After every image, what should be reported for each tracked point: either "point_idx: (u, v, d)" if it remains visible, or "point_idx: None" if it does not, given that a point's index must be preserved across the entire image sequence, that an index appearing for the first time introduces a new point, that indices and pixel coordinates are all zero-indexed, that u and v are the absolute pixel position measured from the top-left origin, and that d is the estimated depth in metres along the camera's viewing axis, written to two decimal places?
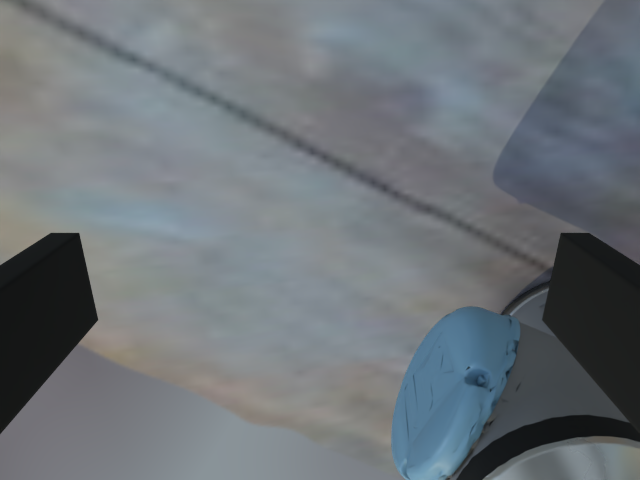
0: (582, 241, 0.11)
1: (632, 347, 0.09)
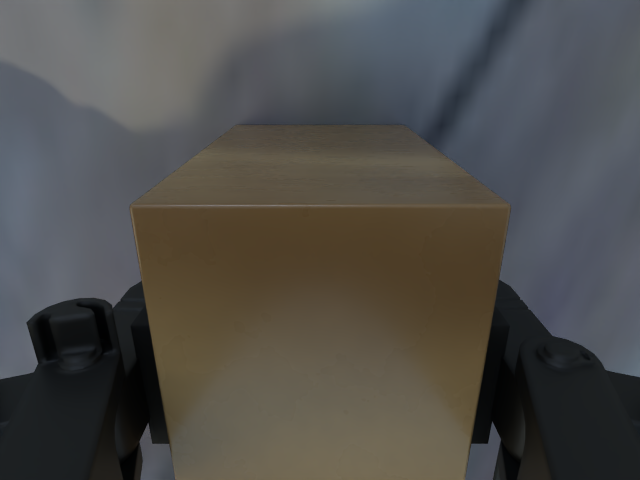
0: None
1: None
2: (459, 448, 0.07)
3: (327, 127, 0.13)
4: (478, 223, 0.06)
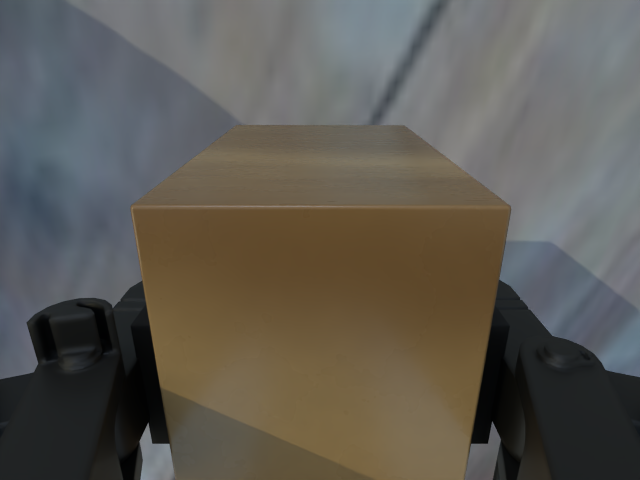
0: None
1: None
2: (459, 448, 0.07)
3: (327, 127, 0.13)
4: (479, 225, 0.06)
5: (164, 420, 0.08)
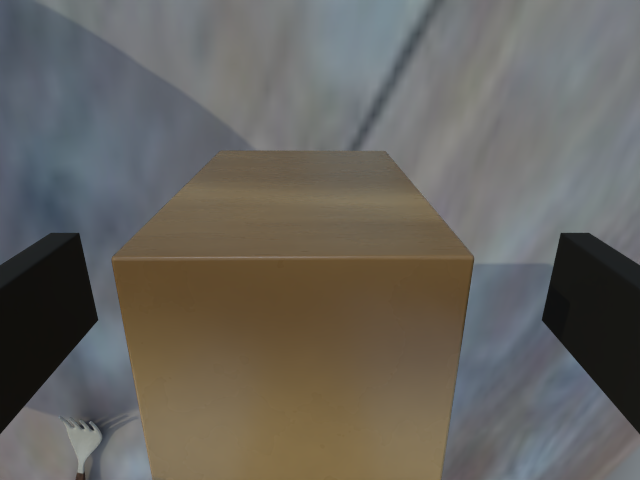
0: (582, 241, 0.11)
1: (632, 347, 0.09)
2: (431, 478, 0.08)
3: (309, 154, 0.13)
4: (443, 273, 0.06)
5: None
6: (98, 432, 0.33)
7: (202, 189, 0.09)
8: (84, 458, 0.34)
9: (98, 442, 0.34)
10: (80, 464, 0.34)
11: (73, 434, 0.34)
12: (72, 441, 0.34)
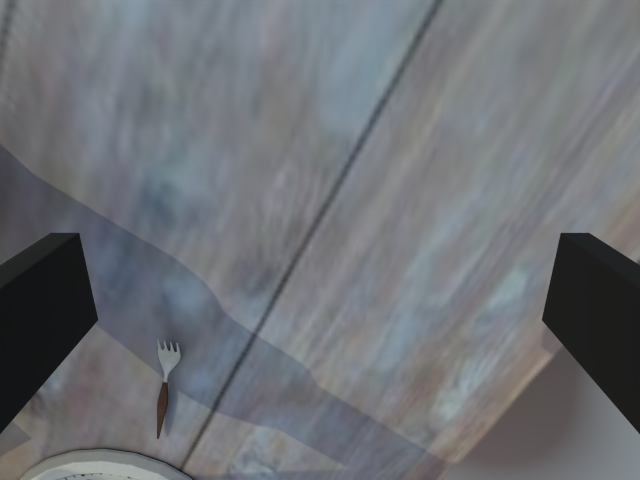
0: (582, 241, 0.11)
1: (632, 347, 0.09)
2: None
3: None
4: None
5: None
6: (179, 353, 0.50)
7: None
8: (168, 371, 0.52)
9: (178, 361, 0.51)
10: (165, 376, 0.52)
11: (162, 355, 0.51)
12: (160, 360, 0.51)
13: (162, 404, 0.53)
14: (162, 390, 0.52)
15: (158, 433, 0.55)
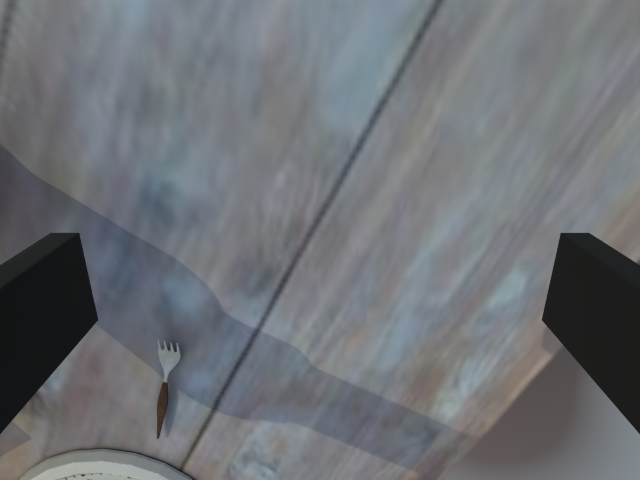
0: (582, 241, 0.11)
1: (632, 347, 0.09)
2: None
3: None
4: None
5: None
6: (179, 353, 0.50)
7: None
8: (168, 371, 0.52)
9: (178, 361, 0.51)
10: (165, 376, 0.52)
11: (162, 355, 0.51)
12: (160, 360, 0.51)
13: (162, 404, 0.53)
14: (162, 390, 0.52)
15: (158, 433, 0.55)
